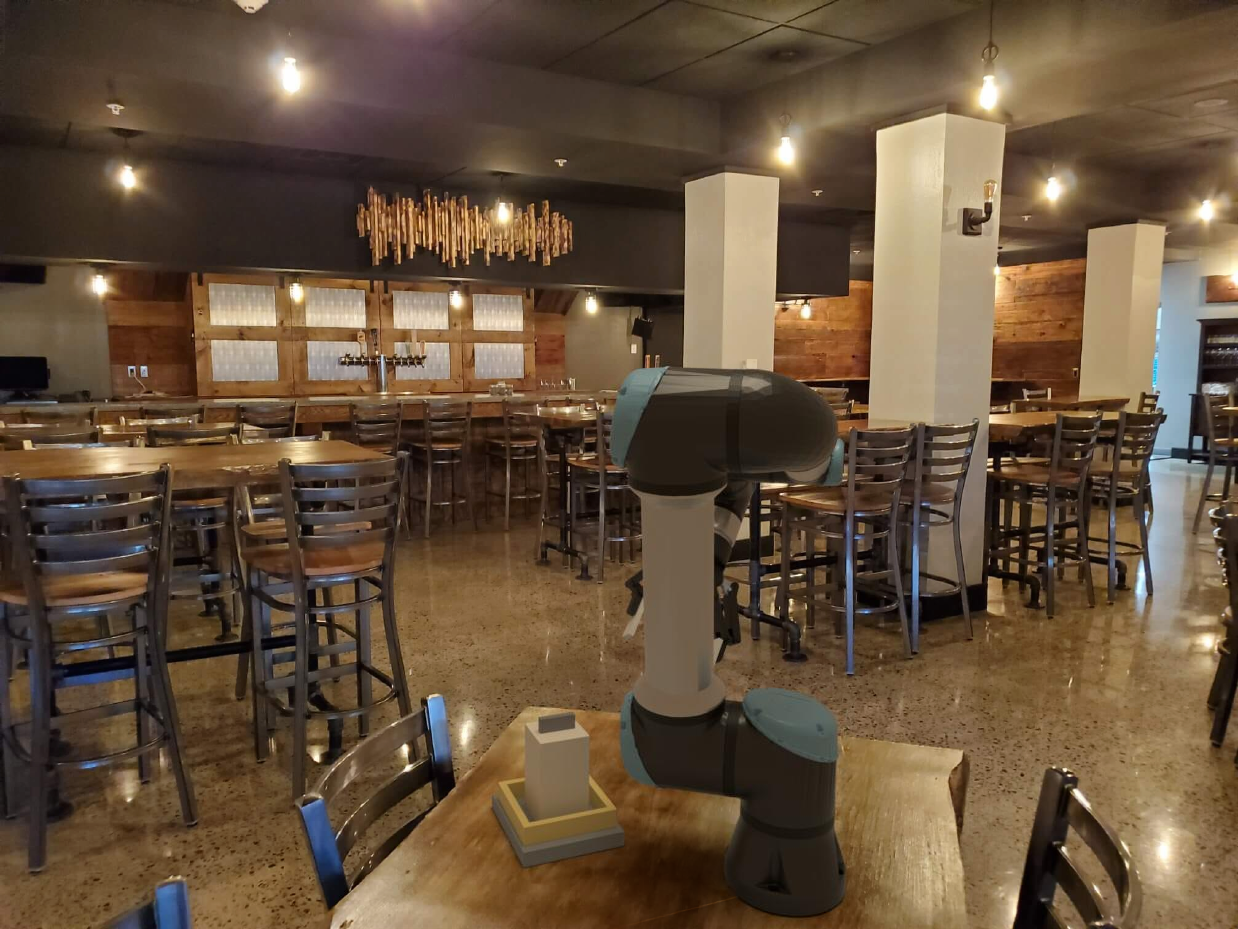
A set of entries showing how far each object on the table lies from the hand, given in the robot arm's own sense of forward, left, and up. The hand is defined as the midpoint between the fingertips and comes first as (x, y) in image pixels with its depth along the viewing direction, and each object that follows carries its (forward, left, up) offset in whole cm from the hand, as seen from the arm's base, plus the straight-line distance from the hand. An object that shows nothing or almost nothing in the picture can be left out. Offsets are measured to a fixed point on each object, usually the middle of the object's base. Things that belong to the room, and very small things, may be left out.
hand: (665, 658), depth 127 cm
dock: (-4, +19, -21) cm, 28 cm away
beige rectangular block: (-4, +19, -19) cm, 27 cm away
